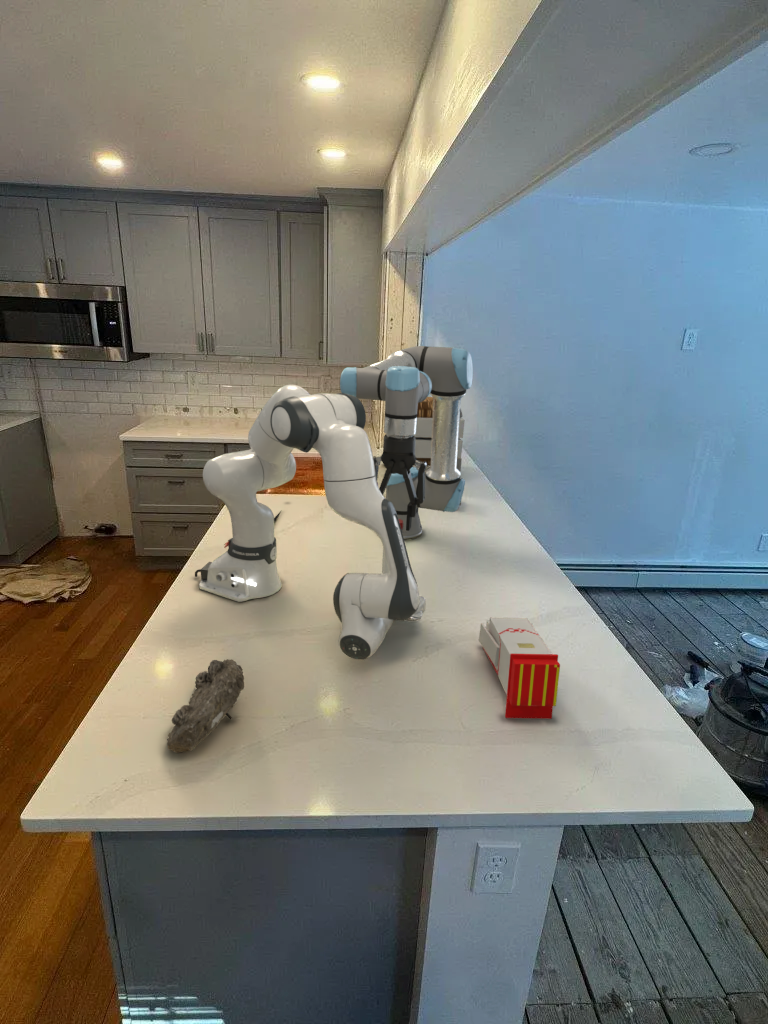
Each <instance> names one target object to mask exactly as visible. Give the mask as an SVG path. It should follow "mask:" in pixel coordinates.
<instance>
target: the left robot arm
mask: <svg viewBox="0 0 768 1024" xmlns="http://www.w3.org/2000/svg"><path fill="white" fill-rule="evenodd" d="M366 414H367V413H366V409H365V406H364V404H363V403H362V401H361V399H358V398H357V397H355V396H352V395H349V394H344V393H341V392H338V393H330V392H329V393H327V392H325V393H324V392H323V393H322V392H319V393H314V394H310V392H309V391H308V390H306V389H305V388H303V387H302V386H300V385H296V384H285V385H283V386H281V387H279V389H277V390H276V391H275V392H274V393H273V394H272V396H270V398H268V400H267V401H266V403H265V404H264V405H263V407H262V409H261V410H260V412H259V413H258V415H257V417H256V419H255V421H254V422H253V424H252V426H251V427H250V429H249V430H248V434H247V441H248V445H249V448H250V449H246V450H240V451H239V450H238V451H233V452H227V453H224V454H223V453H222V454H221V455H219V456H215V457H214V458H210V459H208V460H207V461H206V463H205V464H204V467H203V470H202V481H203V484H204V487H205V489H206V490H207V491H208V492H209V493H210V495H212V496H214V497H216V498H218V499H219V500H220V501H221V502H222V503H223V504H224V505H225V506H226V508H227V510H228V512H229V513H228V514H229V516H230V522H231V530H232V531H231V532H232V537H231V538H229V539H228V540H227V542H224V543H223V546H224V549H226V548H227V547H228V548H227V550H226V551H224V552H223V553H221V554H220V555H219V556H217V557H216V558H215V559H214V560H213V561H208V562H207V563H206V564H204V566H203V567H201V568H199V569H197V570H195V571H194V577H195V578H197V577H198V573H200V581H199V583H198V584H199V585H198V589H200V590H202V591H205V592H208V593H211V594H214V595H217V596H219V597H223V598H226V599H229V600H232V601H235V602H238V603H241V602H245V601H249V600H253V599H262V598H266V597H269V596H273V595H275V594H276V593H278V592H279V590H281V588H282V581H281V578H280V575H279V569H278V565H277V557H278V555H277V553H278V551H277V549H278V548H277V538H276V537H275V523H274V518H275V514H274V512H273V510H272V509H271V508H270V507H269V506H268V505H266V504H264V503H262V502H258V498H257V492H261V491H266V490H271V489H274V488H278V487H280V486H283V485H284V484H286V483H288V482H290V481H292V480H293V479H294V477H295V475H296V471H297V462H296V458H295V457H294V455H293V453H292V452H293V450H294V449H297V450H299V451H300V452H303V453H305V454H307V453H309V452H310V451H311V450H312V449H314V450H315V451H316V452H317V453H318V454H319V456H320V458H321V462H322V474H323V476H322V478H323V486H324V494H325V499H326V502H327V505H328V506H329V507H330V509H331V510H332V511H333V512H334V513H335V514H336V515H338V516H339V517H340V518H343V519H344V520H347V521H349V522H352V523H355V524H357V525H359V526H362V527H364V528H367V529H368V530H370V531H372V532H373V533H375V534H376V535H377V536H378V538H379V539H380V541H381V544H382V549H383V548H384V552H385V556H386V560H387V564H388V568H389V572H390V573H389V574H382V573H372V572H371V573H369V572H347V573H345V574H344V575H343V576H342V577H340V579H339V581H338V582H337V583H336V585H335V588H334V589H333V590H334V591H333V595H332V602H333V609H334V612H335V614H336V616H337V618H338V620H339V622H340V623H341V628H340V629H341V630H340V634H339V638H338V646H339V649H340V651H341V652H342V653H343V654H344V655H345V656H346V657H348V658H350V659H352V660H358V661H359V660H360V661H361V660H364V661H365V660H367V659H369V658H370V657H372V656H373V655H374V654H375V653H376V652H377V650H378V649H379V647H380V646H381V644H382V643H383V642H384V640H385V638H386V634H387V633H388V631H389V630H390V628H391V627H392V625H393V623H394V621H401V622H405V621H406V622H416V621H420V620H421V619H422V617H423V615H424V613H425V611H426V608H427V607H426V606H427V599H426V598H425V597H424V596H423V595H421V594H420V590H419V587H418V582H417V580H416V577H415V573H414V571H413V569H412V566H411V565H412V564H411V562H410V557H409V554H408V549H407V546H406V545H407V544H406V540H405V541H404V538H403V534H402V530H401V526H400V523H399V519H398V516H397V513H396V510H395V508H394V506H393V504H392V502H390V501H389V500H387V499H386V497H385V496H384V494H383V495H382V493H381V492H380V490H379V488H380V486H379V484H378V485H377V482H378V480H377V481H376V473H375V465H374V459H373V457H374V455H373V450H372V446H371V445H372V444H371V441H370V438H369V435H368V433H367V431H366V430H365V427H366V423H367V422H366V421H367V415H366Z"/></svg>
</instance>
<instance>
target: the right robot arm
mask: <svg viewBox="0 0 768 1024" xmlns="http://www.w3.org/2000/svg"><path fill="white" fill-rule="evenodd" d="M473 365H474V364H473V359H472V355H471V353H470V352H469V350H467V349H465V348H459V347H458V348H457V347H449V346H448V347H447V346H426V345H417V346H416V345H415V346H411V347H405V348H403V349H400V350H399V349H398V350H396V351H394V352H392V353H391V354H389V355H388V357H387V358H385V359H382V360H380V361H378V362H375V363H373V364H369V365H367V366H364V367H357V366H353V367H352V366H351V367H345V368H344V369H343V370H342V371H341V374H340V378H339V388H340V393H344V394H349V395H352V396H355V397H357V398H358V399H359V400H370V401H380V402H384V423H383V433H384V435H383V441H382V442H383V443H382V444H383V445H382V447H383V448H382V454H381V455H380V456H376V455H373V459H374V465H375V473H376V481H377V482H378V479H379V469H380V467H379V466H380V465H381V463H382V464H383V466H384V467H385V468H386V469H385V471H384V474H383V477H382V480H381V482H380V485H379V490H380V492H381V493H382V495H383V496H384V494H385V499H387V500H389V501H390V502H392V504H393V506H394V508H395V510H396V513H397V516H398V519H401V520H403V529H401V530H402V534H403V538H404V540H405V541H410V540H415V539H418V538H420V537H421V536H422V535H423V525H422V524H421V518H420V515H419V509H425V510H432V511H439V512H443V513H445V512H447V513H455V512H457V511H458V509H459V508H460V506H461V505H460V502H461V503H462V499H463V495H464V491H465V486H466V479H464V478H462V477H461V475H462V474H460V471H459V470H458V469H457V468H456V466H457V450H458V435H459V419H460V408H461V401H462V398H464V396H465V395H467V390H469V389H471V388H472V385H473V377H474V369H473V368H474V367H473ZM427 397H433V418H432V442H431V465H430V466H429V468H427V467H428V466H427V462H425V461H424V462H421V461H419V460H417V459H416V457H415V442H416V438H415V436H413V435H415V434H416V426H417V408H418V403H419V402H422V401H424V400H425V399H426V398H427ZM414 464H415V465H416V466H413V465H414ZM459 505H460V506H459Z"/></svg>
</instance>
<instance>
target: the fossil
mask: <svg viewBox="0 0 768 1024" xmlns="http://www.w3.org/2000/svg"><path fill="white" fill-rule="evenodd" d="M243 670H244V669H243V667H242V665H240V664H237V662H236V661H235V660H234V659H232V658H231V659H227V658H226V659H224V660H223V661H222V660H217V659H212V660H211V661H210V663H209V665H208V666H207V671H201V672H199V673H198V674H197V675H196V676H195V680H194V684H195V685H194V687H195V689H194V690H193V693H192V694H191V697H190V698H189V700H188V704H184V705H182V706H181V707H180V709H177V710H176V711H175V713H174V715H173V716H172V718H171V723H172V724H173V727H172V730H171V731H170V732H168V734H167V738H166V741H167V742H166V745H167V749H168V750H169V751H173V752H174V753H176V754H178V753H182V752H188V751H189V752H192V751H193V750H195V748H196V747H197V746H199V744H200V743H201V742H203V741H204V740H205V739H206V738H207V737H208V736H209V735H210V734H211V733H212V732H214V730H215V729H217V727H218V726H219V724H220V722H221V721H222V720H223V719H224V718H225V716H226V717H227V719H229V720H233V717H232V715H230V714H229V710H230V709H231V708H234V706H235V704H236V703H237V702H238V699H239V697H240V695H241V693H242V691H243V690H245V689H244V688H245V675H244V671H243Z"/></svg>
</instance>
